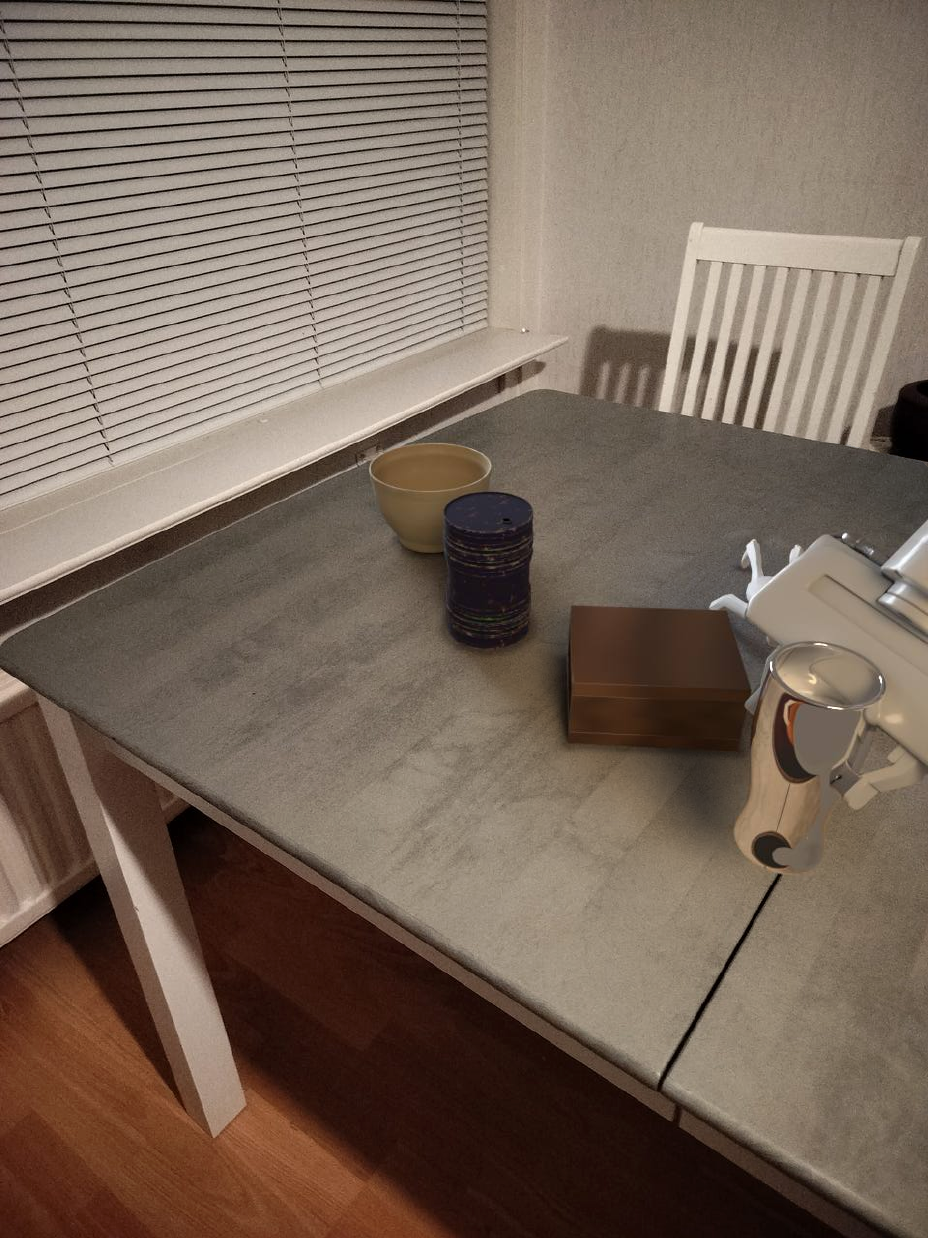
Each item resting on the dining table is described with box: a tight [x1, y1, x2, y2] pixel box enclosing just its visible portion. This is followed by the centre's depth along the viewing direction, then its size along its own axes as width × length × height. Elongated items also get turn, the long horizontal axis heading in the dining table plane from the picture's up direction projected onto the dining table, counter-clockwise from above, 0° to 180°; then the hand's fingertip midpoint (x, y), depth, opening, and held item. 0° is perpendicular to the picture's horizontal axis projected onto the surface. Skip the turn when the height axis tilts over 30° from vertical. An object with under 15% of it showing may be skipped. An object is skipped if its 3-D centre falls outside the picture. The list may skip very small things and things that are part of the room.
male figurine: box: [708, 538, 805, 648], centre depth 94 cm, size 14×6×25 cm
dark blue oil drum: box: [443, 490, 535, 651], centre depth 92 cm, size 10×10×15 cm
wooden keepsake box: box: [566, 604, 752, 752], centre depth 82 cm, size 16×13×8 cm
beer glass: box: [732, 641, 887, 876], centre depth 53 cm, size 7×7×15 cm
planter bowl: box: [368, 442, 493, 554], centre depth 111 cm, size 16×16×11 cm
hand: (796, 756), depth 53 cm, fingers closed on beer glass, 7 cm apart
